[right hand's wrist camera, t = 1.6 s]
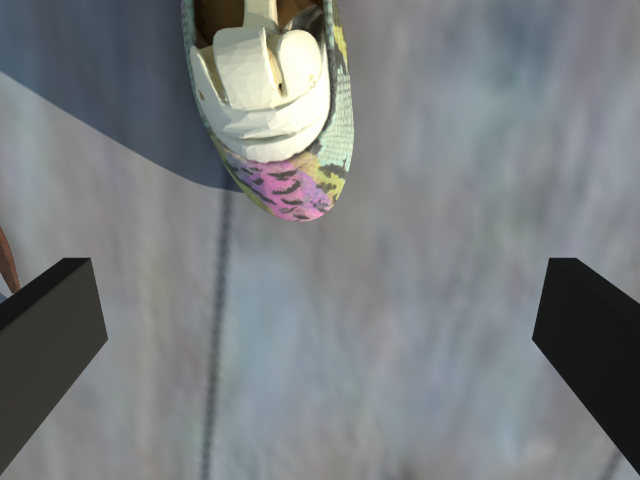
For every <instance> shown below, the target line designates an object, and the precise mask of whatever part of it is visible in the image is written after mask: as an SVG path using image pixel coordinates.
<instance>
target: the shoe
mask: <svg viewBox="0 0 640 480" xmlns="http://www.w3.org/2000/svg"><path fill="white" fill-rule="evenodd" d="M181 20H182V30H183V38H184V46H185V53H186V59H187V66H188V73H189V78H190V83H191V87H192V91H193V95H194V99H195V102H196V104H197V107H198V110H199V112H200V116H201V119H202V121H203V124H204V126H205V128H206V130H207V132H208V134H209V136H210V138H211V139H212V141H213V143H214V146H215V148H216V150H217V152H218V154H219V156H220V158H221V160H222V162H223V164H224V165H225V167H226V169H227V170H228V172H229V173H230V175H231V176H232V177H233V179H234V180H235V181H236V183H237V184H238V186H239V187H240V188H241V189H242V191H243V192H244V193H245V194H246V195H247V196H248V197H249V198H250V199H251V200H252V201H253V202H254V203H255V204H256V205H257V206H259V207H260V208H261V209H263V210H264V211H266V212H267V213H269V214H271V215H273V216H276V217H278V218H281V219H285V220H289V221H298V222H303V221H310V220H313V219H315V218H318V217H320V216H321V215H323V214H324V213H326V212H327V211H328V210H329V209H330V208H332V207H333V205H334V204H335V202H336V200H337V199H338V197H339V195H340V193H341V190H342V188H343V185H344V183H345V180H346V177H347V174H348V170H349V166H350V161H351V156H352V149H353V140H354V128H353V110H352V101H351V88H350V72H349V59H348V52H347V46H346V38H345V33H344V28H343V24H342V20H341V16H340V13H339V10H338V6H337V0H181Z"/></svg>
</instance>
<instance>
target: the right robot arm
mask: <svg viewBox="0 0 640 480" xmlns="http://www.w3.org/2000/svg"><path fill="white" fill-rule="evenodd" d="M107 340H108V336H107V332H106V327H105V323H104V318H103V313H102V309H101V304H100V299H99V295H98V290H97V285H96V281H95V276H94V271H93V267H92V262H91V258H63V259H61V260H60V261H59V262H57V263H56V264H55V265H53V266H52V267H50V268H49V269H48V270H46V271H45V272H44V273H42V274H41V275H40V276H38V277H37V278H35V279H34V280H33V281H31V282H30V283H29V284H27V285H26V286H24V287H23V288H22V289H20V290H19V291H18V292H16V293H15V294H13V295H12V296H11V297H9V298H8V299H7V300H5V301H4V302H2V303H1V304H0V475H1V474H2V473H3V472H4V470H5V469H6V468H7V466H8V465H9V464H10V463H11V461H12V460H13V459H14V458H15V456H16V455H17V454H18V453H19V451H20V450H21V449H22V448H23V446H24V445H25V444H26V442H27V441H28V440H29V439H30V437H31V436H32V435H33V434H34V432H35V431H36V430H37V429H38V427H39V426H40V425H41V423H42V422H43V421H44V420H45V418H46V417H47V416H48V415H49V413H50V412H51V411H52V410H53V408H54V407H55V406H56V405H57V403H58V402H59V401H60V399H61V398H62V397H63V396H64V394H65V393H66V392H67V391H68V389H69V388H70V387H71V386H72V384H73V383H74V382H75V380H76V379H77V378H78V377H79V375H80V374H81V373H82V372H83V370H84V369H85V368H86V367H87V365H88V364H89V363H90V362H91V360H92V359H93V358H94V356H95V355H96V354H97V353H98V351H99V350H100V349H101V348H102V346H103V345H104V344H105V343H106V341H107ZM532 340H533V341H534V343H535V344H536V345H537V346H538V348H539V349H540V350H541V351H542V353H543V354H544V355H545V356H546V358H547V359H548V360H549V362H550V363H551V364H552V365H553V367H554V368H555V369H556V370H557V372H558V373H559V374H560V375H561V377H562V378H563V379H564V380H565V382H566V383H567V384H568V386H569V387H570V388H571V389H572V391H573V392H574V393H575V394H576V396H577V397H578V398H579V399H580V401H581V402H582V403H583V405H584V406H585V407H586V408H587V410H588V411H589V412H590V413H591V415H592V416H593V417H594V418H595V420H596V421H597V422H598V423H599V425H600V426H601V427H602V429H603V430H604V431H605V432H606V434H607V435H608V436H609V437H610V439H611V440H612V441H613V442H614V444H615V445H616V446H617V448H618V449H619V450H620V451H621V453H622V454H623V455H624V456H625V458H626V459H627V460H628V461H629V463H630V464H631V465H632V466H633V468H634V469H635V470H636V472H637V473H638V474H639V475H640V304H639V303H638V302H636V301H635V300H633V299H632V298H631V297H629V296H628V295H627V294H625V293H624V292H622V291H621V290H620V289H618V288H617V287H616V286H614V285H613V284H611V283H610V282H609V281H607V280H606V279H605V278H603V277H602V276H600V275H599V274H598V273H596V272H595V271H594V270H592V269H591V268H590V267H588V266H587V265H585V264H584V263H583V262H581V261H580V260H579V259H577V258H549V262H548V267H547V271H546V276H545V281H544V285H543V290H542V295H541V299H540V304H539V309H538V313H537V318H536V323H535V327H534V332H533V336H532Z"/></svg>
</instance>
